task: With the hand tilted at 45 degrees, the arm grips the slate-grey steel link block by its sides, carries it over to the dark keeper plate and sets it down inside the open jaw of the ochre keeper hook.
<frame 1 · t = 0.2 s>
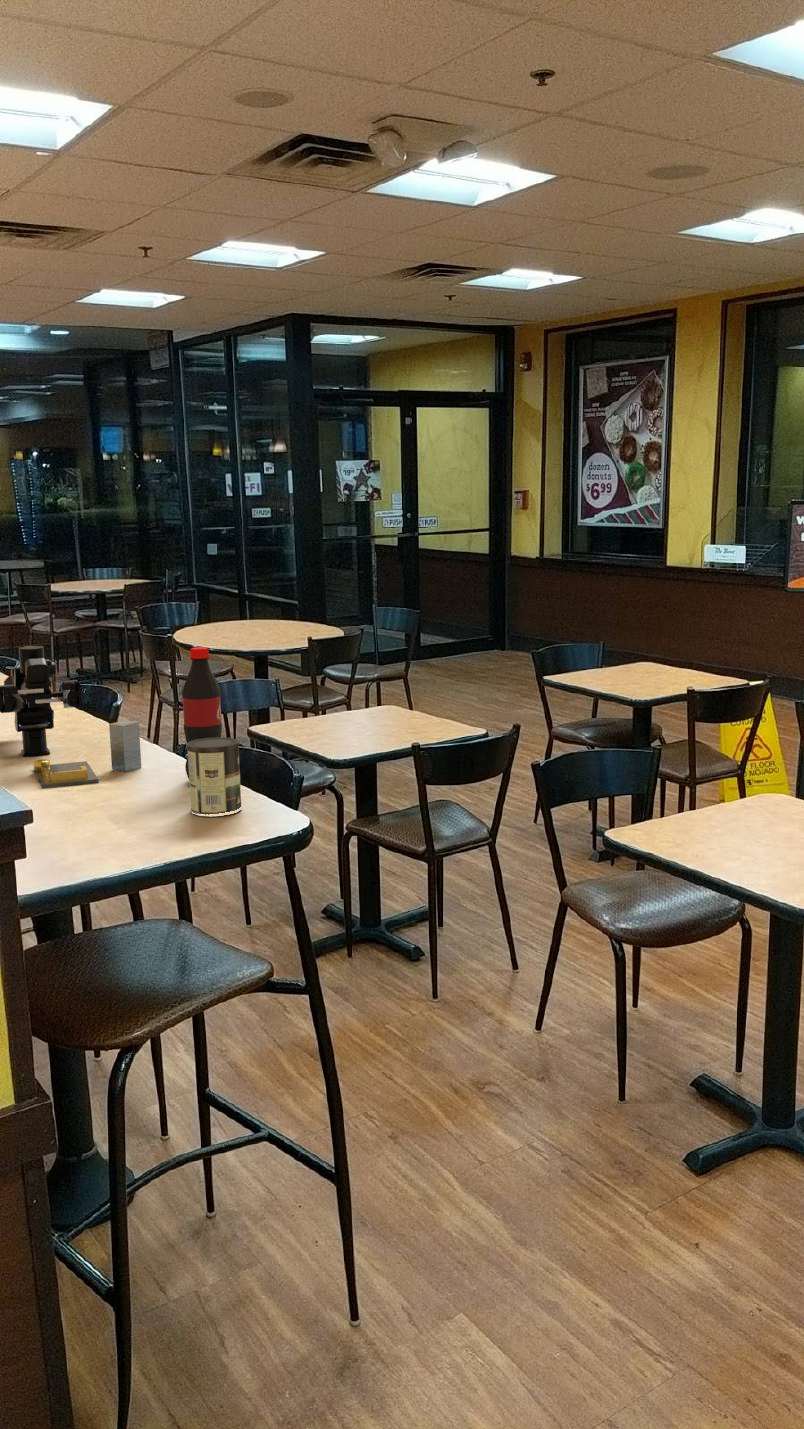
hand: (44, 703, 248), 17 cm above the table, tool horizontal, fingers open, 9 cm apart
keeper: (65, 775, 249), on the table
coffee can: (216, 811, 218), on the table
cola bottle: (205, 781, 243), on the table
link block: (126, 768, 255), on the table
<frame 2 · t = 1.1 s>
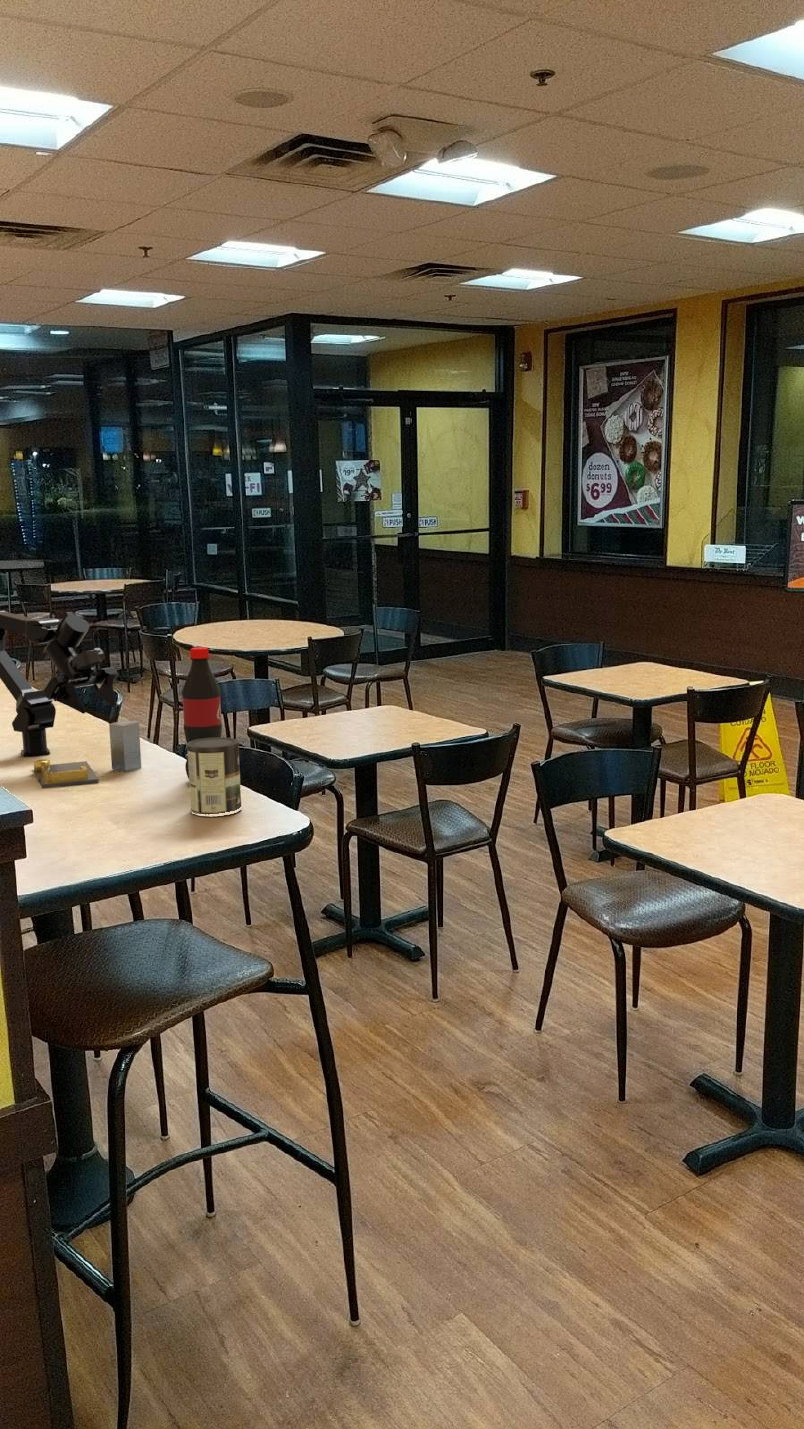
hand: (100, 709, 257), 14 cm above the table, tool tilted 45°, fingers open, 9 cm apart
nothing on the table moved.
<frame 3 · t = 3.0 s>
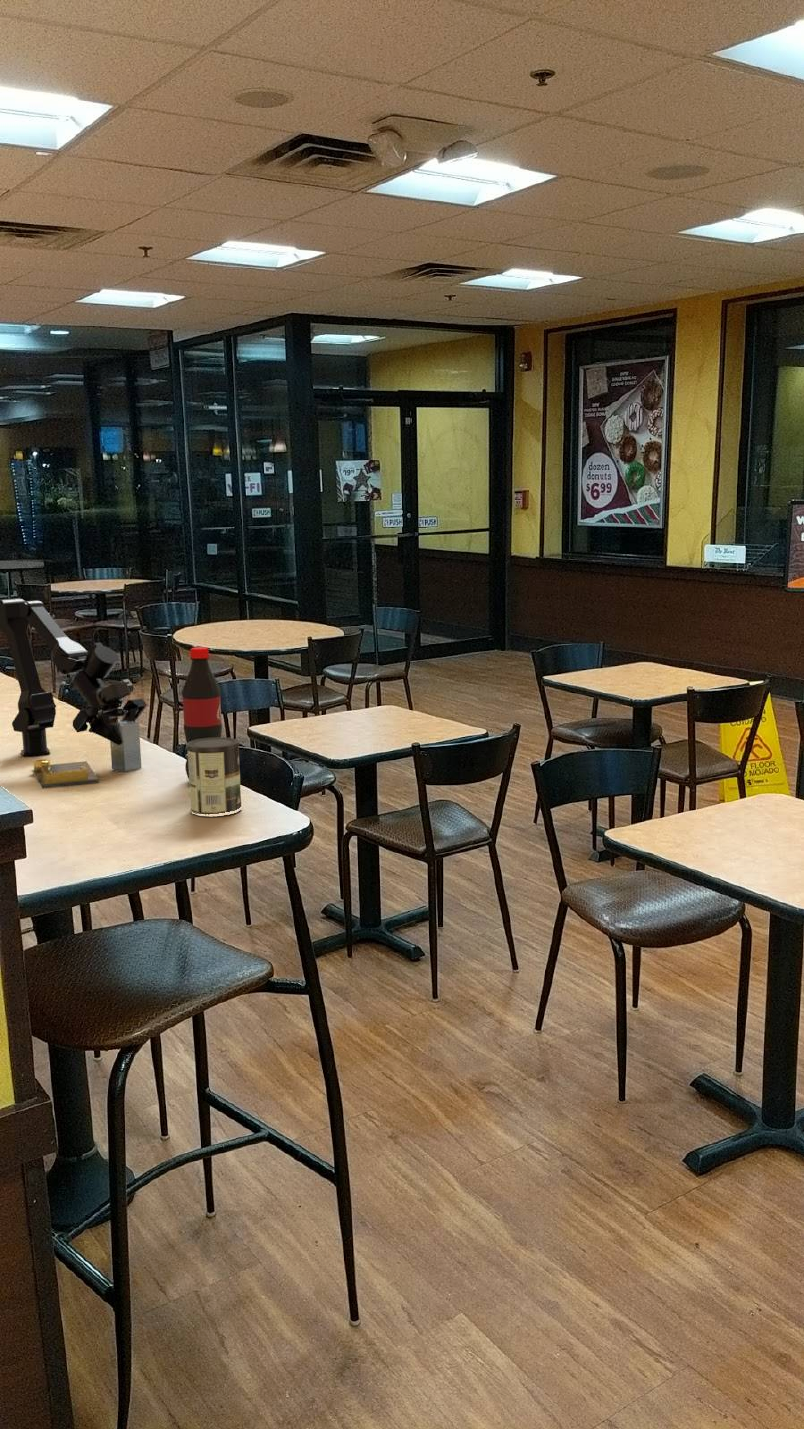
hand: (129, 741, 253), 7 cm above the table, tool tilted 45°, fingers closed on link block, 5 cm apart
link block: (126, 768, 255), on the table, touching gripper
everything else where it was.
when the fingers open (9 cm above the table, at t = 7.1 s): link block drops 1 cm, resting on keeper.
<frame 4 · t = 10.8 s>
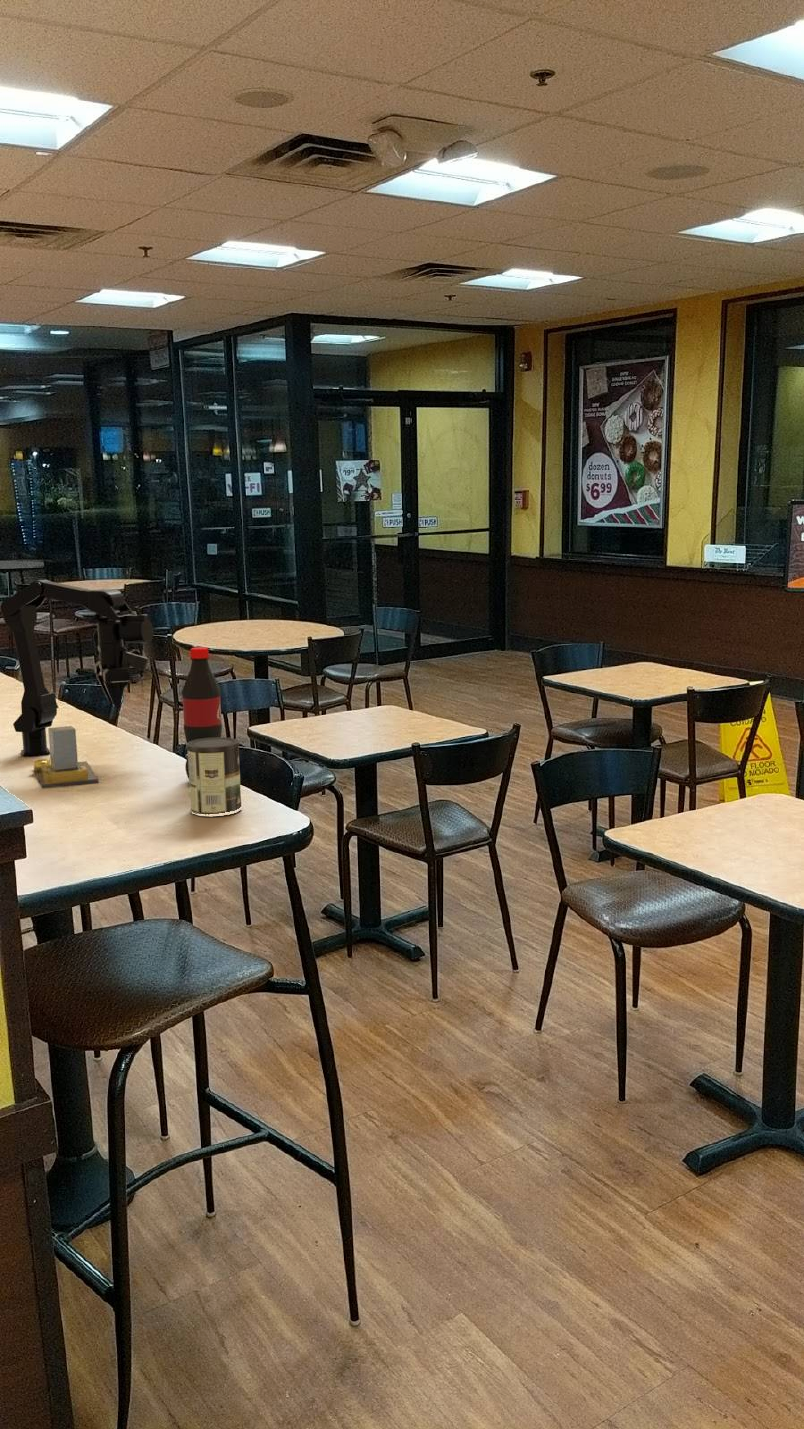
hand: (114, 706, 265), 13 cm above the table, tool pointing down, fingers open, 9 cm apart
link block: (65, 776, 245), point 1 cm above the table, touching keeper
everything else where it was.
at the end: link block 0.1 cm from the target spot on the keeper, point 0.8 cm above the keeper's base; link block tilted 0°; the gripper is holding nothing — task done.
